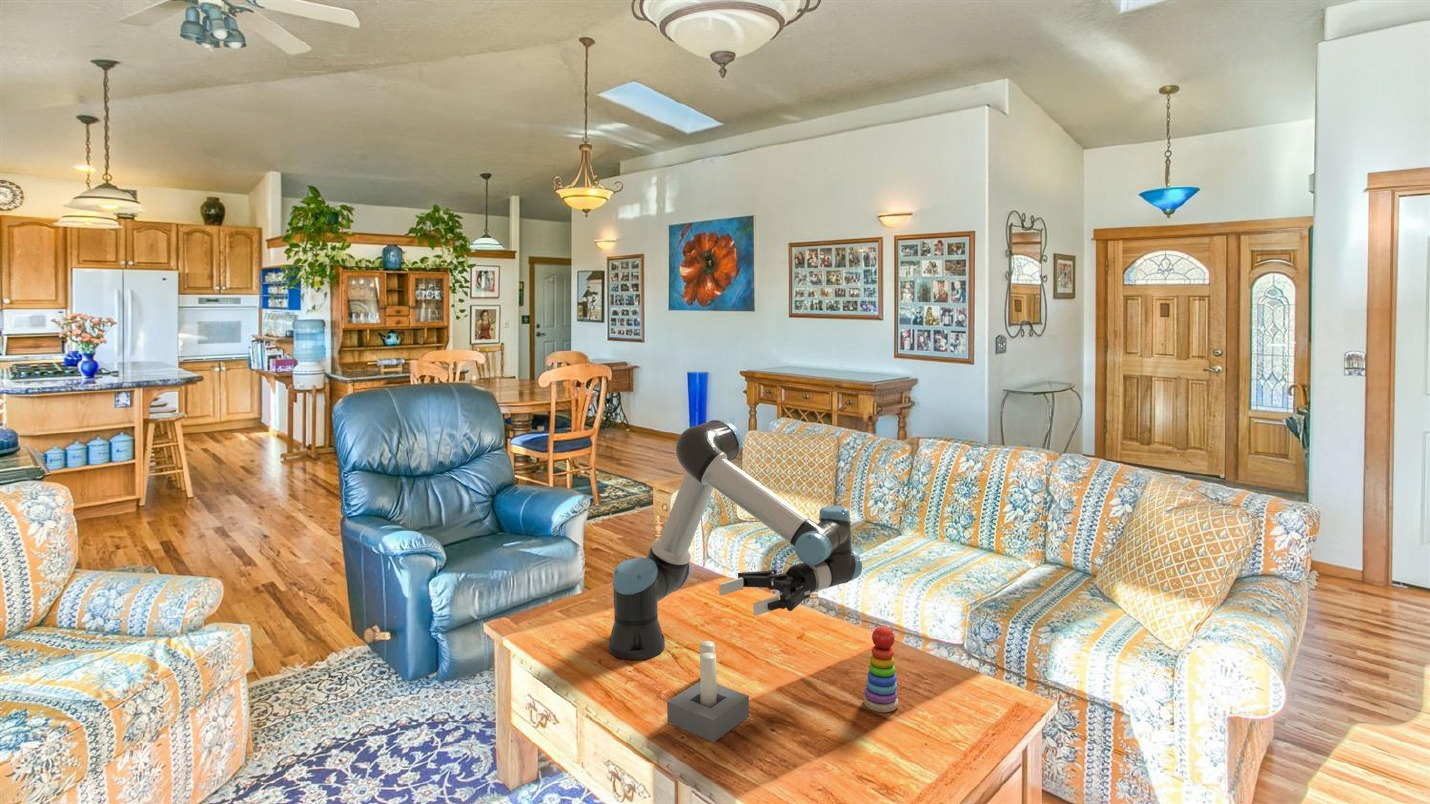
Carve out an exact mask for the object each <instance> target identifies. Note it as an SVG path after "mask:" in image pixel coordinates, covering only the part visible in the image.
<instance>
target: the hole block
mask: <svg viewBox="0 0 1430 804" xmlns="http://www.w3.org/2000/svg"><path fill="white" fill-rule="evenodd" d="M716 687H717V704H716V705H715V706H713V707H712V708H708V707H706V706H703V705H701V702H700V681H698V682H697V683H695V684H693V685H691V686H690V687H689V688H687V689H685V690H684V691H682V692H680V693H679V694H677V695H676V696H673V698H671V699H669V700H667V701H666V710H667V711H666V712H667V713H666V716H667V718H666V719H667V722H669V723H671V724H670V725H672V724H673V725H672V726H674V727H676V726H677V728H679V729H681V730H683V731H686V732H688V733H690V734H692V735H695V736H698V737H700V738H702V739H705V740H707V741H710V742H712V743H715V742H716V741H717V740H719V739H720V738H722V737H723V736H725V734H727V733H729V732H730V731H732V730H733V729H734V728H736V727H737V726H738V725H739V724H741V723H742V722H743V721H745V720H747V719H748V718H749V717H750V695H748V694H745V693H742V692H740V691H737V690H734V689H732V688H729V687H726V686H724V685H721V684H718V683H716ZM669 723H668V724H669Z"/></svg>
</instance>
